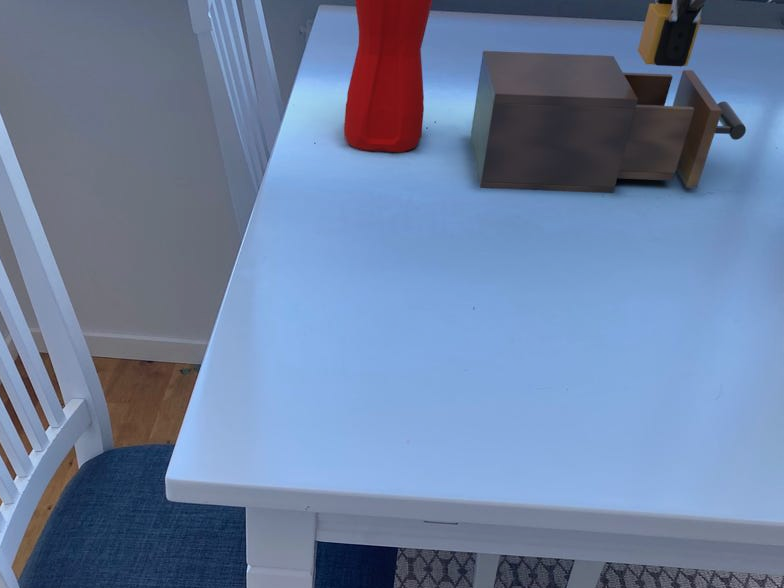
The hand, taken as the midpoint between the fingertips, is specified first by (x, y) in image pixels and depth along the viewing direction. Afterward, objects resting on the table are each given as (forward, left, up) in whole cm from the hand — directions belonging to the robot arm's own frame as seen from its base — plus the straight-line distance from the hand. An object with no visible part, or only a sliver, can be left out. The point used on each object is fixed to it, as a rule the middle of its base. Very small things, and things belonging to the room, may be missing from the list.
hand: (663, 54), depth 100 cm
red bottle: (+29, -7, -12) cm, 32 cm away
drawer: (-1, 0, -11) cm, 11 cm away
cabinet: (+11, 0, -12) cm, 16 cm away
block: (0, 0, 0) cm, 0 cm away
